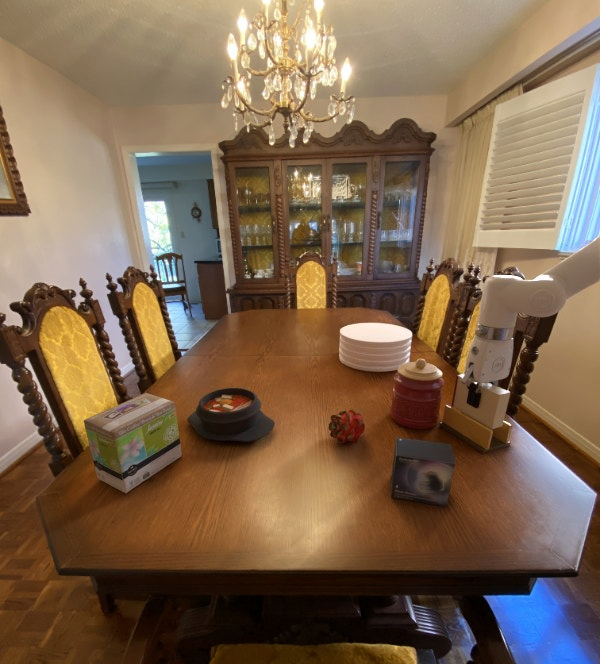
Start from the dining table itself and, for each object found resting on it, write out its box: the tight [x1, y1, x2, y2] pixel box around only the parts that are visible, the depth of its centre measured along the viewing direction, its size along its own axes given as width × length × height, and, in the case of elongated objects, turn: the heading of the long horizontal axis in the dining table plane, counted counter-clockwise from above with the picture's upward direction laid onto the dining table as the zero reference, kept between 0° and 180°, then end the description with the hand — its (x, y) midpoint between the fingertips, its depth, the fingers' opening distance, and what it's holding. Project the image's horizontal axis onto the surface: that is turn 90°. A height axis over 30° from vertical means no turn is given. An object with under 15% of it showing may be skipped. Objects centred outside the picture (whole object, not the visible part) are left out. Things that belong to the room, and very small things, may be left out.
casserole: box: [186, 387, 276, 443], centre depth 92 cm, size 25×19×8 cm
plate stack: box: [338, 322, 413, 373], centre depth 139 cm, size 28×28×12 cm
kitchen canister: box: [390, 358, 446, 430], centre depth 93 cm, size 13×13×18 cm
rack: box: [438, 404, 513, 455], centre depth 87 cm, size 9×14×6 cm, turn 23°
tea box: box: [83, 392, 183, 494], centre depth 75 cm, size 15×10×15 cm, turn 151°
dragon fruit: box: [327, 409, 366, 444], centre depth 87 cm, size 8×8×12 cm
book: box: [450, 373, 512, 429], centre depth 85 cm, size 4×12×9 cm, turn 23°
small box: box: [390, 437, 457, 508], centre depth 67 cm, size 11×6×10 cm, turn 76°
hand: (478, 403), depth 85 cm, fingers closed on book, 3 cm apart
